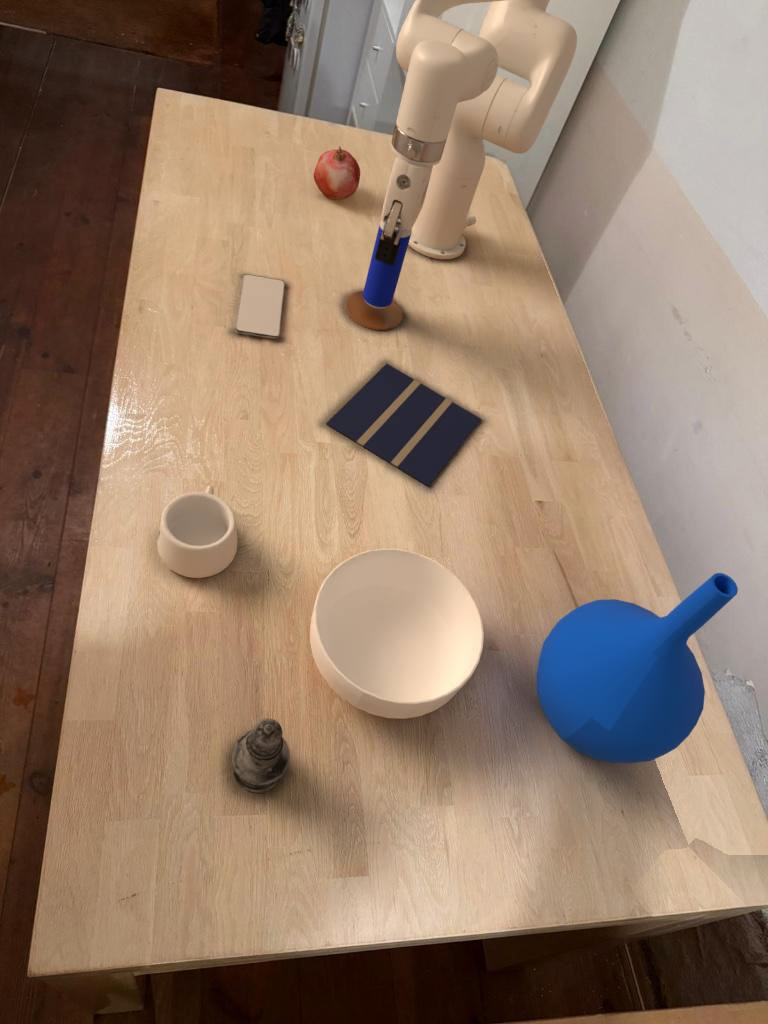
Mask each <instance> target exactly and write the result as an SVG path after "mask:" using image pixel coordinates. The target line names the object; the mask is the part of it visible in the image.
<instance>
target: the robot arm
mask: <svg viewBox="0 0 768 1024" xmlns="http://www.w3.org/2000/svg"><path fill="white" fill-rule="evenodd" d="M550 2H551V0H415V1H414V2H413V4H412V6H411V8H410V9H409V12H408V14H407V15H406V17H405V19H404V21H403V24H402V27H401V29H400V31H399V34H398V37H397V40H396V46H395V57H396V61H397V64H398V65H399V66H400V68H401V69H402V70H403V71H405V72H406V78H405V81H404V86H403V89H402V90H403V91H402V94H401V99H400V103H399V107H398V112H397V116H396V120H395V125H394V129H393V134H392V137H391V142H390V149H391V151H392V152H393V154H394V155H395V156H394V160H393V165H392V168H391V173H390V176H389V180H388V184H387V188H386V192H385V198H384V201H383V206H382V211H381V217H380V218H381V220H383V222H384V221H385V225H384V228H383V231H382V235H381V236H380V240H379V244H378V248H377V252H376V256H375V259H376V260H378V261H381V262H384V263H387V264H389V265H394V263H395V261H396V257H397V253H398V250H399V246H400V242H399V239H400V236H401V233H402V229H403V228H404V229H406V230H407V231H408V230H410V229H412V233H411V236H410V240H409V244H408V246H409V247H410V248H412V250H414V251H415V252H417V253H419V254H421V255H423V256H425V257H428V258H432V259H436V260H452V259H455V258H458V257H460V256H461V255H462V254H463V253H464V251H465V248H466V245H467V242H466V238H465V237H464V235H463V233H464V231H465V230H466V229H467V227H470V226H471V227H472V226H473V225H475V224H476V222H477V217H476V216H475V215H474V214H469V212H470V209H471V206H472V203H473V200H474V198H475V194H476V192H477V188H478V186H479V182H480V179H481V177H482V174H483V171H484V169H485V166H486V165H485V164H486V148H485V142H484V141H486V142H488V143H491V144H493V145H496V146H498V147H499V148H502V149H504V150H506V151H509V152H511V153H513V154H525V153H527V152H528V151H530V149H531V148H532V147H533V145H534V144H535V142H536V141H537V139H538V137H539V135H540V133H541V131H542V129H543V127H544V124H545V122H546V120H547V119H548V116H549V113H550V111H551V109H552V108H553V105H554V103H555V100H557V99H556V98H557V97H558V94H559V92H560V90H561V87H562V86H563V83H564V82H565V79H566V77H567V75H568V72H569V70H570V67H571V66H572V62H573V60H574V57H575V54H576V51H577V45H578V34H577V32H576V28H575V27H574V26H573V25H572V24H571V23H569V22H567V21H566V20H564V19H561V18H560V17H557V16H555V15H553V14H550V13H548V12H546V10H547V8H548V6H549V3H550ZM480 3H490V6H489V8H488V10H487V12H486V15H485V17H484V20H483V22H482V25H481V28H480V31H479V34H478V35H476V34H475V33H472V32H470V31H467V30H465V29H464V28H462V27H460V26H457V25H455V24H453V23H450V22H448V21H446V20H444V19H441V18H440V16H441V15H442V14H444V13H445V12H446V11H448V10H450V9H453V8H455V7H458V6H462V5H467V4H480ZM498 68H500V69H501V70H504V71H506V72H509V73H510V74H513V75H515V76H517V77H520V78H522V79H523V80H526V81H528V82H529V84H530V87H529V88H528V87H526V86H523V85H522V84H520V83H517V82H514V81H513V80H510V79H508V78H506V77H504V76H502V75H499V74H497V73H498ZM398 219H401V223H400V222H398ZM395 227H397V228H398V232H397V235H396V232H394V230H395Z"/></svg>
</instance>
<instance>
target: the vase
mask: <svg viewBox="0 0 768 1024" xmlns="http://www.w3.org/2000/svg"><path fill="white" fill-rule="evenodd" d="M738 590H739V588H738V585H737V583H736V582H735V581H734V579H733V578H732V577H731V576H729V575H728V574H726V573H723V572H716V573H713V574H712V575H711V576H710V577H709V578H707V580H706V581H704V582H703V583H702V584H701V585H700V586H698V587H697V588H696V589H695V590H693V592H691V593H690V594H689V595H688V596H687V597H686V598H685V599H683V600H682V601H681V602H679V604H677V605H676V606H675V608H673V609H672V610H671V611H670V612H669V613H668V614H667V615H664V616H662V617H660V616H659V615H657V614H655V613H654V612H653V611H652V610H650V609H647V608H645V607H643V606H640V605H639V604H636V603H634V602H629V601H624V600H621V599H616V598H615V599H614V598H613V599H612V598H611V599H610V598H609V599H596V600H594V601H590V602H587V603H584V604H581V605H580V606H578V607H576V608H574V609H573V610H571V611H570V612H568V613H567V614H565V615H564V616H563V617H562V618H560V619H559V620H558V621H557V622H556V623H555V625H554V626H553V627H552V629H551V630H550V632H549V634H548V635H547V636H546V637H545V639H544V640H543V643H542V646H541V650H540V654H539V658H538V664H537V669H536V692H537V696H538V700H539V703H540V704H539V705H540V707H541V710H542V711H543V713H544V715H545V717H546V719H547V721H548V723H549V725H550V726H551V728H552V729H553V730H554V731H555V733H556V734H557V735H558V736H559V737H560V738H561V740H563V741H564V742H565V743H566V744H568V745H569V746H571V747H572V748H573V749H575V750H576V751H577V752H579V753H581V754H583V755H585V756H587V757H590V758H592V759H594V760H596V761H600V762H606V763H612V764H634V763H635V764H636V763H644V762H653V760H656V759H658V758H661V757H662V756H665V755H667V754H669V753H670V752H672V751H674V750H675V749H677V748H678V747H679V746H680V745H681V744H682V743H683V742H684V741H685V740H686V739H687V738H688V737H689V736H690V734H691V733H693V732H692V731H693V730H694V729H695V727H696V726H697V724H698V722H699V720H700V717H701V715H702V713H703V711H704V706H705V695H706V690H705V684H704V679H703V673H702V671H701V667H700V665H699V663H698V661H697V658H696V656H695V653H694V652H693V651H692V650H691V647H689V645H688V640H689V639H690V638H691V637H692V636H693V635H694V634H695V633H696V632H697V631H699V630H700V629H701V628H702V627H703V626H704V625H706V623H708V622H709V621H710V620H711V619H712V618H713V617H714V616H715V615H716V614H717V613H718V612H720V610H721V609H723V608H724V607H725V606H726V605H727V604H728V603H729V602H730V601H731V600H732V599H734V597H736V596H737V595H738Z"/></svg>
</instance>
